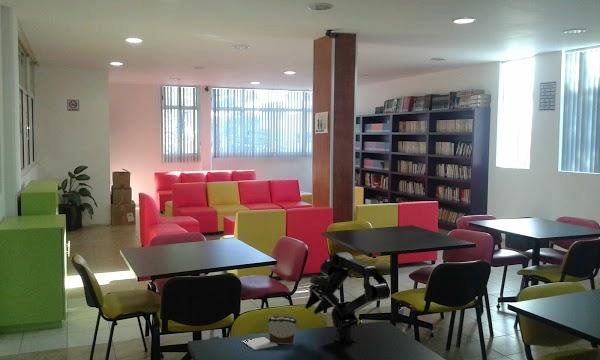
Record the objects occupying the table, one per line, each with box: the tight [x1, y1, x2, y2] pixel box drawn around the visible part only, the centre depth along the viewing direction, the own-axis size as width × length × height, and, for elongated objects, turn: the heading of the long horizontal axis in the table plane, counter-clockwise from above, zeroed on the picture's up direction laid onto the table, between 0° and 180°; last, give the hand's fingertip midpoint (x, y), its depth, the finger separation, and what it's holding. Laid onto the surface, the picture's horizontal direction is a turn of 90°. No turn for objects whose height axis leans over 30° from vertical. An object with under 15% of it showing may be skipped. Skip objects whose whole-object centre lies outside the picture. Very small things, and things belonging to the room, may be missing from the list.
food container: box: [266, 314, 299, 345], centre depth 215 cm, size 12×6×10 cm, turn 84°
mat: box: [241, 336, 279, 351], centre depth 213 cm, size 10×12×1 cm
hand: (310, 310), depth 214 cm, fingers open, 9 cm apart
